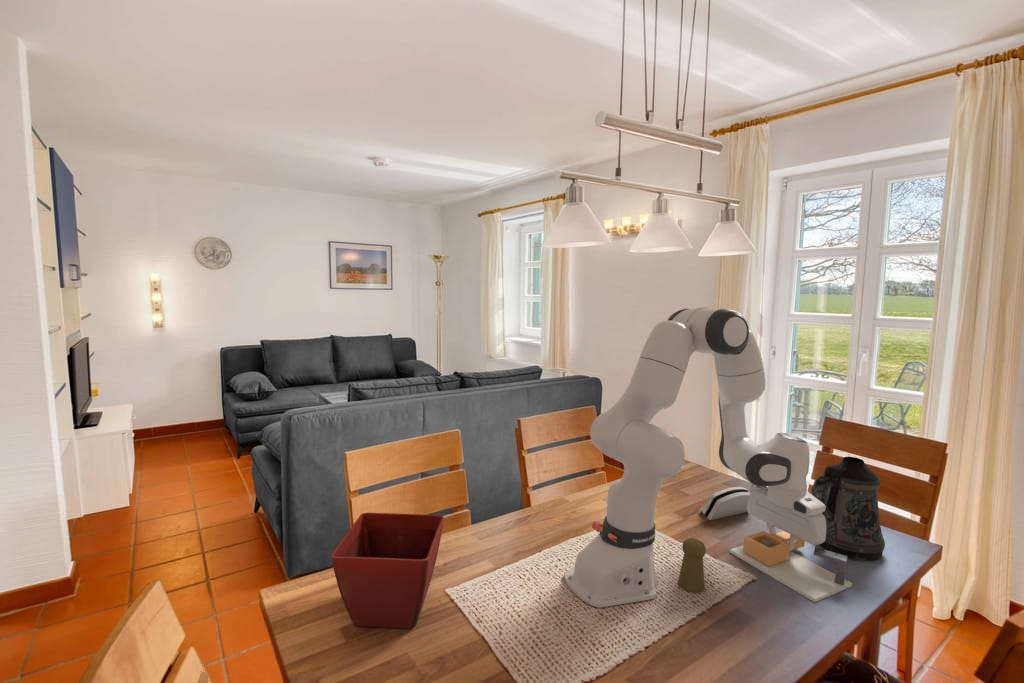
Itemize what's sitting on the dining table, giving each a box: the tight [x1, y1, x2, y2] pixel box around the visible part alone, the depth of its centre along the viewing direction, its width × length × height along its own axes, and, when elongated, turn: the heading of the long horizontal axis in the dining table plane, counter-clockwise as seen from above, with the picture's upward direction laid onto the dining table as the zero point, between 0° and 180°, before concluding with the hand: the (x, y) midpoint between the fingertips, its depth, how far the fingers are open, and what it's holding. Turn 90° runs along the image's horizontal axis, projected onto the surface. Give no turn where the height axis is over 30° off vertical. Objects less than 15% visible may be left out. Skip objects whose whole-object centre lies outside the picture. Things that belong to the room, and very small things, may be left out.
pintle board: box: [729, 539, 853, 603], centre depth 125 cm, size 14×23×5 cm, turn 27°
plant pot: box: [331, 512, 445, 629], centre depth 105 cm, size 19×19×17 cm
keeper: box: [813, 546, 848, 586], centre depth 120 cm, size 7×3×7 cm, turn 52°
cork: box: [677, 538, 707, 594], centre depth 117 cm, size 6×6×11 cm
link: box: [743, 530, 806, 566], centre depth 131 cm, size 18×8×4 cm, turn 117°
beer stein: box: [810, 456, 886, 562], centre depth 135 cm, size 16×19×25 cm
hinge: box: [698, 486, 750, 521], centre depth 155 cm, size 17×5×10 cm, turn 114°
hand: (781, 544), depth 132 cm, fingers closed on link, 3 cm apart
